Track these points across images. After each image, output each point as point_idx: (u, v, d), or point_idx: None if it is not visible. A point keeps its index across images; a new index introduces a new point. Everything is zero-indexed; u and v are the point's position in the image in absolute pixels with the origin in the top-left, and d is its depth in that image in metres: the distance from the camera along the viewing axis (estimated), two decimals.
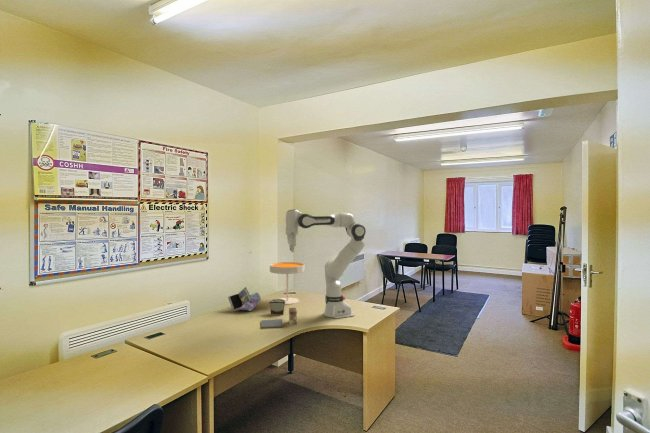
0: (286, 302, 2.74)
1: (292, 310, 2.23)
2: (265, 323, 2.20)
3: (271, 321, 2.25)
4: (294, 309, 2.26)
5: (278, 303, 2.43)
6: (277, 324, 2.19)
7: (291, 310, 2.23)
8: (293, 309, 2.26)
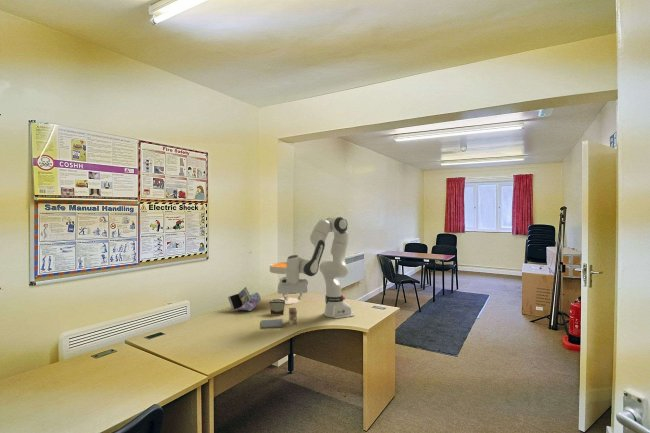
0: (286, 302, 2.74)
1: (292, 310, 2.23)
2: (265, 323, 2.20)
3: (271, 321, 2.25)
4: (294, 309, 2.26)
5: (278, 303, 2.43)
6: (277, 324, 2.19)
7: (291, 310, 2.23)
8: (293, 309, 2.26)
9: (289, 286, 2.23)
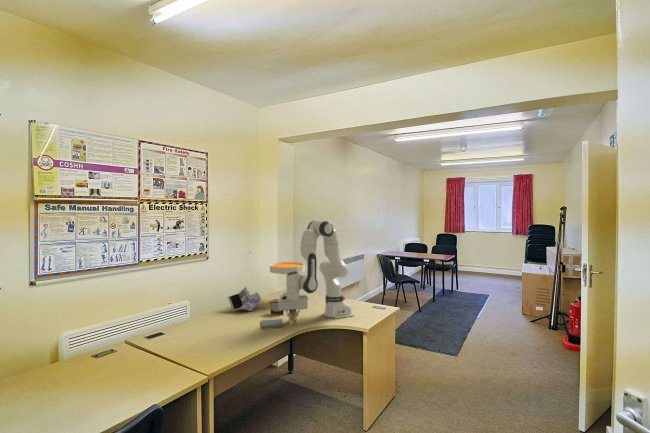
0: None
1: (292, 310, 2.23)
2: (265, 323, 2.20)
3: (271, 321, 2.25)
4: None
5: None
6: (277, 324, 2.19)
7: (291, 310, 2.23)
8: None
9: (289, 303, 2.23)
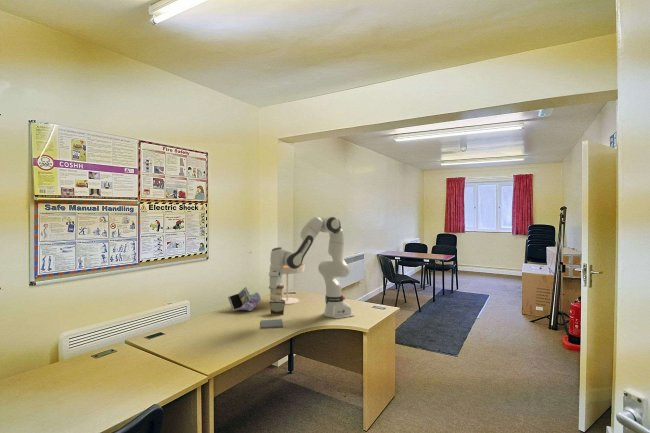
0: (286, 302, 2.74)
1: (279, 286, 2.22)
2: (265, 323, 2.20)
3: (271, 321, 2.25)
4: None
5: (278, 303, 2.43)
6: (277, 324, 2.19)
7: (278, 286, 2.22)
8: None
9: (277, 279, 2.21)
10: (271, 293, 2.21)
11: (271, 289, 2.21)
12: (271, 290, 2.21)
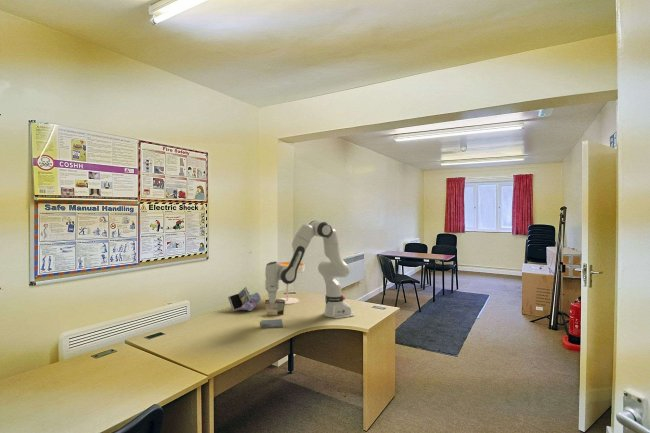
0: (286, 302, 2.74)
1: None
2: (265, 323, 2.20)
3: (271, 321, 2.25)
4: None
5: (278, 303, 2.43)
6: (277, 324, 2.19)
7: None
8: None
9: None
10: (267, 308, 2.19)
11: (267, 304, 2.19)
12: (267, 305, 2.19)
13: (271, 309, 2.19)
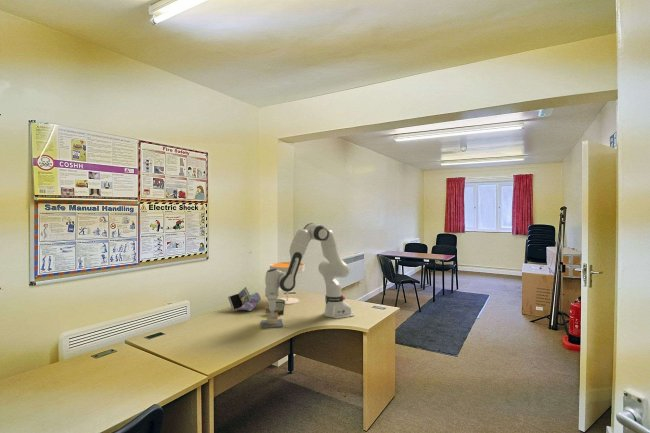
0: (286, 302, 2.74)
1: None
2: (265, 323, 2.20)
3: None
4: None
5: (278, 303, 2.43)
6: (277, 324, 2.19)
7: None
8: None
9: None
10: (267, 318, 2.19)
11: (268, 313, 2.19)
12: (268, 314, 2.19)
13: (271, 318, 2.20)
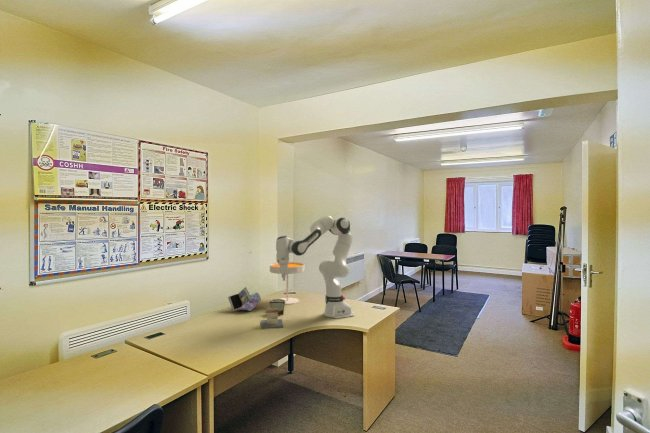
0: (286, 302, 2.74)
1: (274, 309, 2.22)
2: (265, 323, 2.20)
3: None
4: (271, 309, 2.23)
5: (278, 303, 2.43)
6: (277, 324, 2.19)
7: (274, 309, 2.21)
8: (271, 309, 2.23)
9: None
10: (267, 318, 2.19)
11: (268, 313, 2.19)
12: (268, 314, 2.19)
13: (271, 318, 2.20)
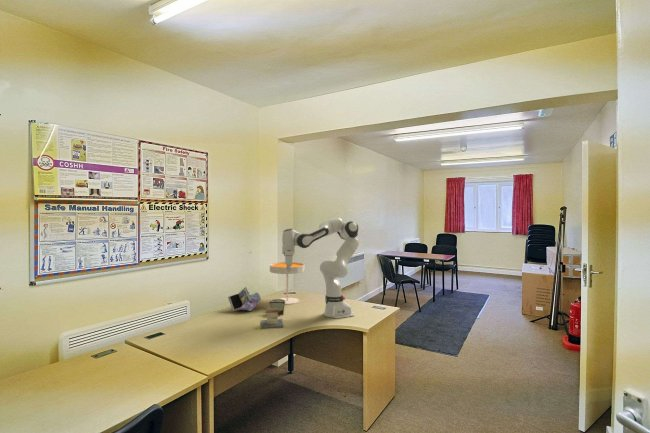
0: (286, 302, 2.74)
1: (274, 309, 2.22)
2: (265, 323, 2.20)
3: None
4: (271, 309, 2.23)
5: (278, 303, 2.43)
6: (277, 324, 2.19)
7: (274, 309, 2.21)
8: (271, 309, 2.23)
9: None
10: (267, 318, 2.19)
11: (268, 313, 2.19)
12: (268, 314, 2.19)
13: (271, 318, 2.20)
